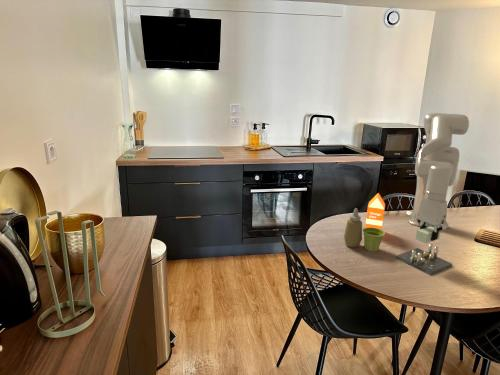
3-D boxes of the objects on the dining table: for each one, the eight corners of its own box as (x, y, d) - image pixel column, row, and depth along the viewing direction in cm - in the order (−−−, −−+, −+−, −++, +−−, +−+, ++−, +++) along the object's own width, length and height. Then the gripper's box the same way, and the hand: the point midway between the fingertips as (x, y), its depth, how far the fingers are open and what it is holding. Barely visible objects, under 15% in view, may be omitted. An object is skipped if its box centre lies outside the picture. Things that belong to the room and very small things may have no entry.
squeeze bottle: (362, 243, 163) (366, 207, 157) (359, 250, 156) (364, 213, 150) (344, 239, 166) (348, 204, 161) (341, 246, 159) (345, 210, 154)
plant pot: (382, 246, 160) (384, 228, 158) (382, 255, 152) (385, 237, 149) (361, 242, 163) (363, 225, 161) (360, 251, 155) (362, 233, 152)
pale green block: (415, 239, 143) (417, 230, 142) (428, 235, 147) (430, 226, 146) (425, 243, 139) (427, 234, 138) (439, 239, 144) (440, 230, 143)
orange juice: (364, 234, 172) (368, 196, 166) (365, 227, 180) (370, 191, 174) (380, 237, 170) (386, 198, 164) (381, 230, 177) (386, 193, 171)
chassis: (395, 257, 150) (397, 245, 148) (417, 250, 157) (419, 237, 155) (430, 275, 137) (432, 261, 135) (451, 265, 144) (454, 252, 142)
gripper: (410, 191, 143) (404, 232, 148) (450, 203, 129) (442, 247, 134) (421, 189, 147) (415, 228, 152) (462, 200, 133) (453, 243, 138)
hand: (427, 237), depth 143 cm, fingers closed on pale green block, 4 cm apart
